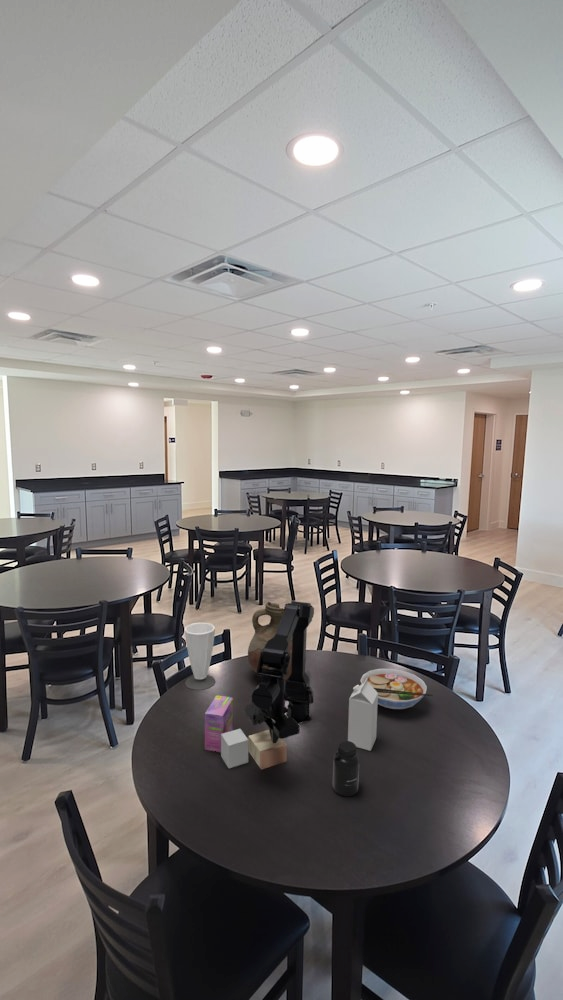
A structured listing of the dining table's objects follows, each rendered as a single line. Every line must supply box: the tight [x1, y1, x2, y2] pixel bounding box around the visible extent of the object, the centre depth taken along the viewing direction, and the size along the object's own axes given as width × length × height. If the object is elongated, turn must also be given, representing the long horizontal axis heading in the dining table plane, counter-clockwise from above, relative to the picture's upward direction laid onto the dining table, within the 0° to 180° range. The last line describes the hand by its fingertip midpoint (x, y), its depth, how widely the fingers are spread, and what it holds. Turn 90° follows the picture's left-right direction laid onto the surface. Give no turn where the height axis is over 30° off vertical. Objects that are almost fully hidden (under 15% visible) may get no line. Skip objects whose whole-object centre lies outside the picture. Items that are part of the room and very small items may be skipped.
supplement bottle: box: [332, 740, 360, 797], centre depth 127 cm, size 7×7×12 cm
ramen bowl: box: [359, 668, 432, 710], centre depth 169 cm, size 25×23×8 cm
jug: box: [247, 601, 292, 682], centre depth 184 cm, size 22×22×30 cm
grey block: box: [220, 728, 249, 769], centre depth 138 cm, size 6×6×7 cm
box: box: [204, 695, 234, 753], centre depth 146 cm, size 10×6×12 cm, turn 168°
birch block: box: [247, 729, 288, 770], centre depth 140 cm, size 8×5×9 cm
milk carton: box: [347, 678, 379, 752], centre depth 146 cm, size 7×7×19 cm
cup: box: [184, 621, 216, 691], centre depth 181 cm, size 12×12×22 cm
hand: (274, 742), depth 135 cm, fingers closed
